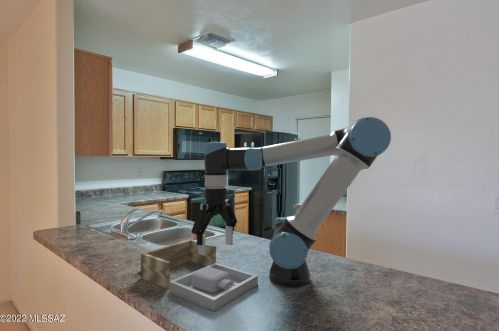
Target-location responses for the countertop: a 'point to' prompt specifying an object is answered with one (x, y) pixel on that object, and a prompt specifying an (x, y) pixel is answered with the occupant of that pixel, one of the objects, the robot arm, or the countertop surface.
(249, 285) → the tray
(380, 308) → the countertop surface
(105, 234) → the countertop surface
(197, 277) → the charger
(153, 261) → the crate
